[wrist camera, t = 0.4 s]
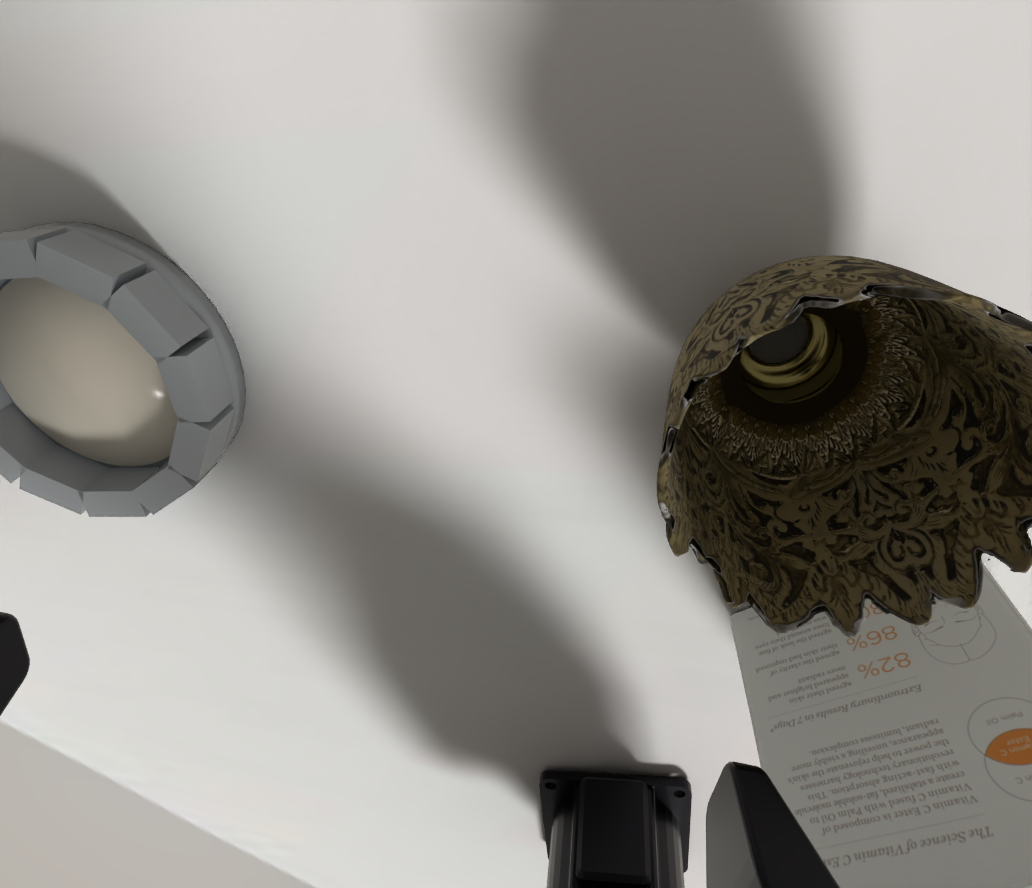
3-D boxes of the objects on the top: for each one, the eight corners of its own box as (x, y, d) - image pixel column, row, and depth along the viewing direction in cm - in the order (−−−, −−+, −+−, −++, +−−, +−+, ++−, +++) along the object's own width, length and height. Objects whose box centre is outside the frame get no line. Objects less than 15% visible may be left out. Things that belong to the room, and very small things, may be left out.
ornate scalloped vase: (592, 313, 20) (579, 453, 13) (834, 134, 17) (985, 192, 10) (734, 489, 22) (787, 688, 15) (969, 359, 19) (1168, 534, 12)
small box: (787, 706, 27) (873, 1045, 18) (725, 609, 25) (786, 935, 16) (1013, 642, 24) (1257, 1009, 15) (963, 526, 22) (1211, 867, 13)
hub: (276, 475, 24) (242, 516, 22) (51, 477, 26) (-1, 516, 23) (194, 212, 20) (142, 231, 18) (-70, 231, 21) (-148, 252, 19)
